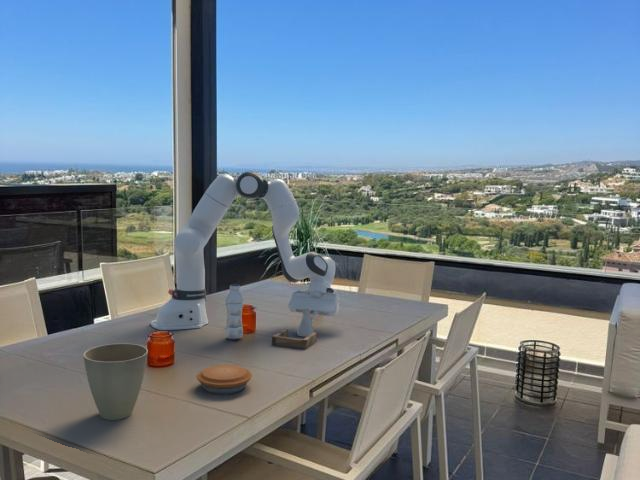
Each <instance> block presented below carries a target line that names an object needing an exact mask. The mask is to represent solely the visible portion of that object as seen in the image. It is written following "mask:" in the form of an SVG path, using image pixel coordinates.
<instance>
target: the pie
mask: <svg viewBox="0 0 640 480" xmlns="http://www.w3.org/2000/svg"><path fill="white" fill-rule="evenodd" d="M252 376H253V375H252V372H251V371H250V370H249V369H246V368H245V367H244V368H243V367H242V366H238V365H232V364H220V365H214V366H209V367H207V368H205V369H203V370H200V372H198V373H197V374H196V380H197V381H198V382H199V383H200V385H201V386H202V388H203V389H204V390H205V391H206V392H208V393H210V394H214V395H231V394H237V393H240V392H241V391H243V390H244V389H245V387H246V386H247V384H248V382H249V381H250V380H251V378H252Z"/></svg>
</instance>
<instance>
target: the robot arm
mask: <svg viewBox="0 0 640 480" xmlns="http://www.w3.org/2000/svg"><path fill="white" fill-rule="evenodd" d="M240 196H241V198H243V199H247V200H255V199H262V200H263V201H264V202H265V203H266V205H267V208H268V210H269V211H270V214H271V217H272V225H271V226H272V227H271V231H272V236H273V239H274V243H275V246H276V247H275V248H276V250H277V253H278V254H277V255H278V256H279V260H280V264H281V271H282V275H283V277H284V278H285V279H286V281H288V282H290V283H293V284H294V283H295V284H296V283H298V282H300V281H303V280H304V279H309V280H310V282H309V283H308V284H309V285H308V288H307V290H306V291H305V290H304V291H301V290H297V291H295V292H293V293H292V295H291V299H290V300H289V302H288V305H287V306H288V309H289V311H290V312H292V313H300V314H303V310H302V309H310V310H311V311H310V315H312V316H310V319H311V323H312V324H314V321H315V320H317V318H318V317H319V316H327V317H334V318H335V317H337V316H338V315H339V310H340V303H339V301H340V296H339V291H337V289H335V288H332V287H331V285H332V284H333V282H334V279H335V276H336V275H335V274H336V267H337V266H336V262H335V261H334V260H333V259H332V258H331V257H330V256H325V255H324V256H322V255H320V254H319V253H317V252H316V251H309V252H305V253H302V254H301V255H298V256H295V255H294V252H293V249H292V246H291V242H290V239H289V234H290V232H291V230H292V229H293V228H294V226H295V225H296V224H297V222H298V220H299V218H300V216H301V215H300V214H301V213H300V212H301V211H300V208H299V206H298V203H297V201H296V198H295V196H294V195H293V193H292V191H291V189H290V188H289V186H288V184H287V183H286V181H285V180H284V179H281V178H273V179H271V180H267V179H265V178H264V177H263V176H262V174H260V173H259V172H257V171H253V170H249V171H245V172H242V173H241V174H240V175H238V177H234V176H232V175H230V174H226V173H221V174H219V175H218V176H217V177H216V178H215V179H214V180H213V181H212V182H211V184H209V187H207V189H206V190H205V192H204V193H203V195H202V196H201V198H200V200H199V201H198V203H197V205H196V206H195V208H194V209H193V212H192V213H191V215H190V217H189V219H188V221H187V222H186V224H185V226H184V227H183V229H182V230H180V231H179V232H178V233H177V234H176V235H175V238H174V254H175V256H174V257H175V265H176V266H175V267H176V288H175V289H174V290H173V289H172V288H171V289H170V288H169V289H168V290H167V293H168V294H169V295H171V298H170V299H169V300H168V301H167V302H166V303H164V304H163V305H162V306H160V307H159V308H158V310H157V313H156V314H157V315H156V319H154V320H151V322H150V325H151V327H152V328H153V329H156V330H159V331H172V330H173V331H174V330H176V331H177V330H188V329H189V330H190V329H191V330H192V329H200V328H202V327H203V326H205V325H207V324H209V320H208V319H209V318H208V315H207V310H206V300H207V289H206V287H205V286H206V283H205V282H206V279H205V278H206V272H205V271H206V269H205V268H206V267H205V257H204V256H205V255H204V249H205V246H206V245H207V243H209V240H210V238H211V237H212V235H213V234H214V233H215V231H216V229H217V227H218V226H219V224H220V222H221V221H222V219H223V217H224V216H225V215H226V213H227V211H228V209H229V208H230V206H231V205H232V204H233V201H234V200H235V199H237V197H240Z"/></svg>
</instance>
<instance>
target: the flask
mask: <svg viewBox="0 0 640 480" xmlns="http://www.w3.org/2000/svg"><path fill="white" fill-rule="evenodd" d="M302 310H303V313H302V317H301V321H300V323H299V326H298V328H297V331H296V336H299V337H302V338H306V337H307V336H309V335H310V334H312V333H315V330H314V327H313V323H311V319H310V317H311V314H310V311H311V310H310V309H302Z"/></svg>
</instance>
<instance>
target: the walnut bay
mask: <svg viewBox="0 0 640 480" xmlns="http://www.w3.org/2000/svg"><path fill="white" fill-rule="evenodd" d="M317 335H318V333H317V332H314V333H312V334H310V335H309V336H307V337H303V338H295V337H289V329H286V328H284V329H282V330H280V331H279V332H277V333H275V334H274V335H272V336H271V345H273V346H280V347H286V348H295V349H302V350H306V349H308V348H309V347H311V346H312V345H313V344H315V343H316V342H317V340H318V339H317Z"/></svg>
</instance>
